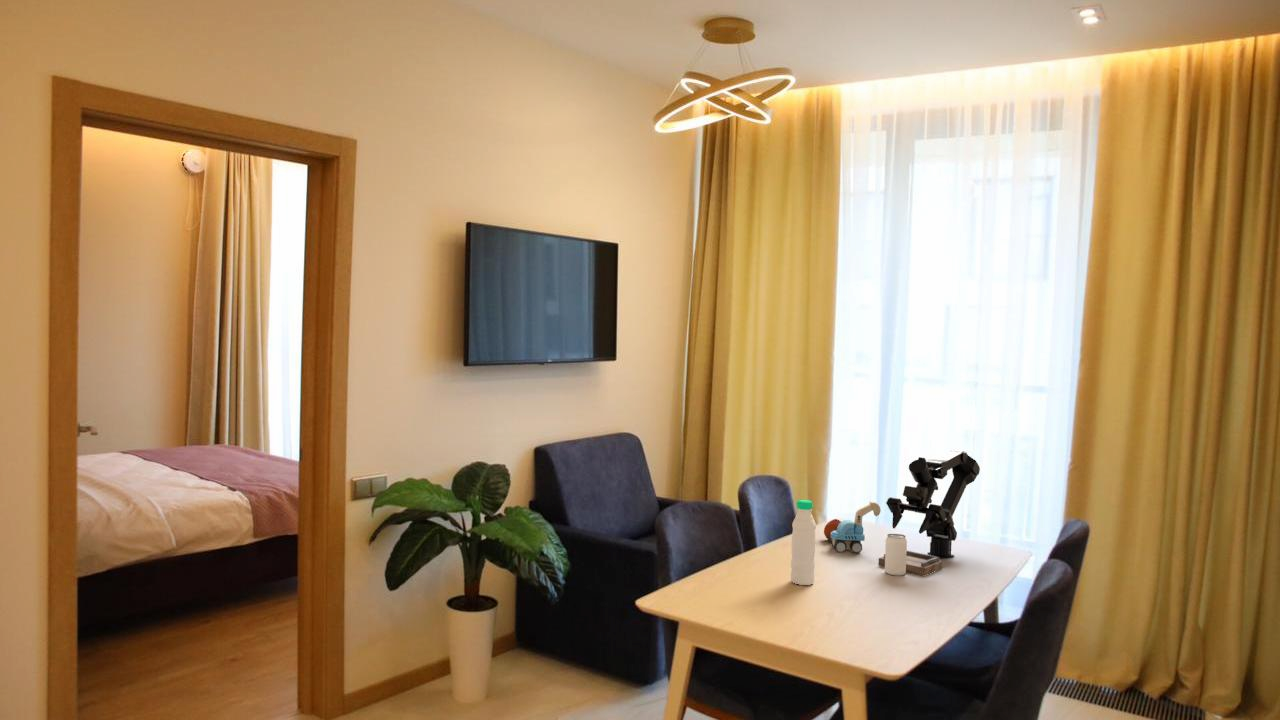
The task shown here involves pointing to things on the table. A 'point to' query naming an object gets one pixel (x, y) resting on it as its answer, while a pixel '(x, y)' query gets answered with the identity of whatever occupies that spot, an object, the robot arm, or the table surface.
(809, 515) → the water bottle
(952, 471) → the robot arm
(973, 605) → the table surface
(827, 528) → the fruit
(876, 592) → the table surface
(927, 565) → the dock
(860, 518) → the toy excavator
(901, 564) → the can
